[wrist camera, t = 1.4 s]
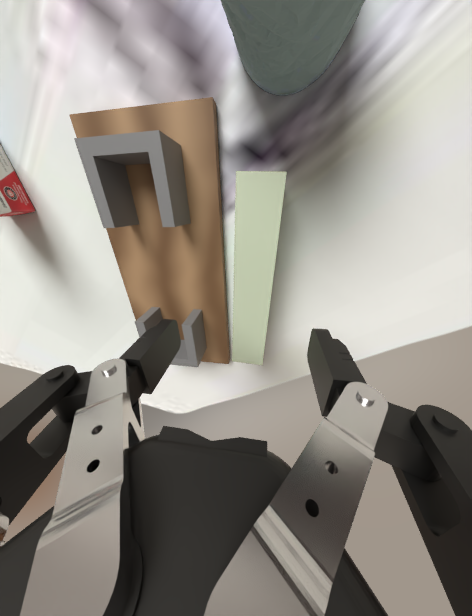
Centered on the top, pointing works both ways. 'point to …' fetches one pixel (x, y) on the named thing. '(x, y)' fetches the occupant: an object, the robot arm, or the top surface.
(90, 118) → the mounting board
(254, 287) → the pale green block
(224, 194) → the top surface
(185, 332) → the end cap
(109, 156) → the end cap
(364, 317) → the top surface
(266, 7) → the grey green cup
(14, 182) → the ink box
